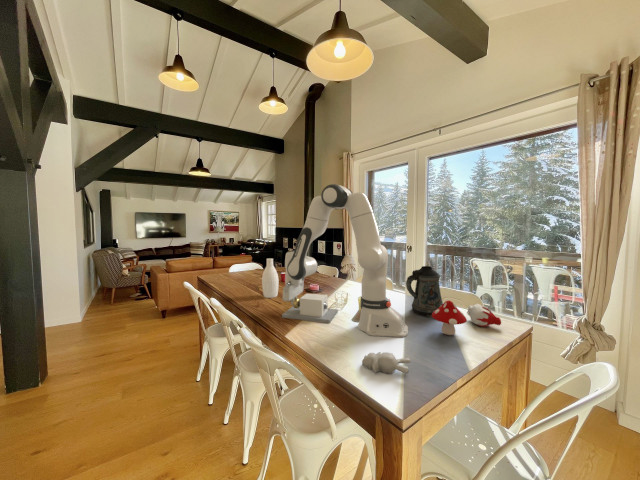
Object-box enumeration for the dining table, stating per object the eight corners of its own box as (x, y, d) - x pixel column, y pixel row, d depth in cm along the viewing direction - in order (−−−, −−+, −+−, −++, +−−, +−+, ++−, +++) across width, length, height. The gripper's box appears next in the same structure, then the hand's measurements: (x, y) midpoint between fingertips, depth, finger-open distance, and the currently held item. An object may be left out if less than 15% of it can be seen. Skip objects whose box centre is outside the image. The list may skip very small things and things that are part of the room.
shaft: (328, 309, 136) (328, 299, 135) (325, 312, 131) (325, 302, 130) (297, 306, 141) (296, 297, 141) (293, 309, 136) (293, 299, 136)
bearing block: (337, 312, 140) (337, 294, 139) (329, 323, 125) (329, 303, 124) (294, 307, 148) (294, 290, 147) (281, 317, 133) (281, 298, 132)
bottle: (282, 295, 173) (281, 258, 172) (271, 299, 164) (270, 260, 162) (270, 293, 179) (269, 257, 178) (258, 297, 170) (257, 259, 168)
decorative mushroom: (469, 343, 102) (470, 307, 101) (432, 338, 107) (432, 303, 106) (463, 330, 115) (464, 297, 114) (430, 326, 120) (430, 294, 119)
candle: (466, 316, 130) (501, 327, 120) (460, 322, 122) (497, 335, 112) (469, 299, 129) (505, 309, 119) (463, 304, 121) (501, 316, 111)
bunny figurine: (366, 347, 92) (410, 350, 86) (368, 361, 92) (411, 365, 86) (359, 360, 83) (406, 365, 77) (361, 375, 83) (408, 381, 77)
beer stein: (450, 313, 136) (451, 267, 135) (429, 321, 125) (430, 271, 124) (423, 305, 150) (423, 263, 148) (401, 312, 139) (402, 266, 137)
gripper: (290, 284, 127) (291, 311, 128) (305, 276, 146) (305, 299, 147) (279, 283, 129) (279, 310, 130) (295, 275, 148) (295, 298, 149)
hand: (293, 304), depth 139 cm, fingers closed, pressing on shaft
